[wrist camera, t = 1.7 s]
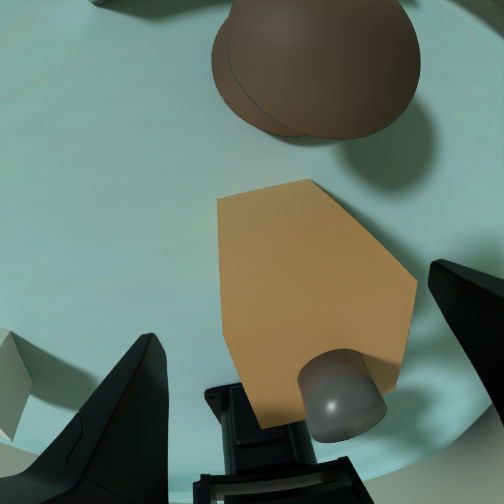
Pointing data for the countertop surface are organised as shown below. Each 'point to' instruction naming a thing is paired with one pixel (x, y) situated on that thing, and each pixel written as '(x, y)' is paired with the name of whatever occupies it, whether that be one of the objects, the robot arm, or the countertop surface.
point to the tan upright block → (310, 309)
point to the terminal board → (98, 2)
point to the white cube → (11, 385)
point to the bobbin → (317, 65)
